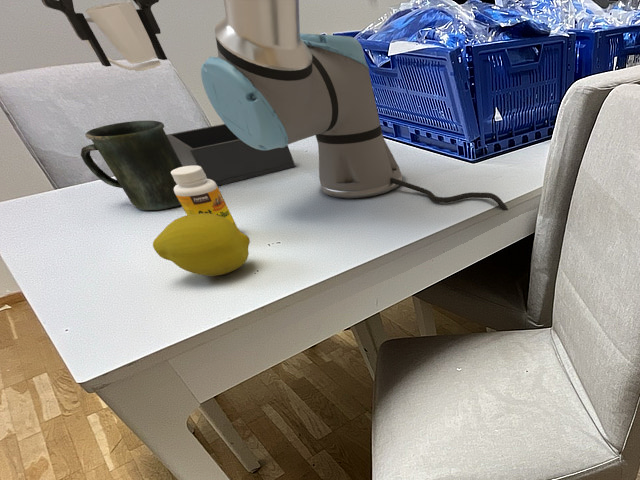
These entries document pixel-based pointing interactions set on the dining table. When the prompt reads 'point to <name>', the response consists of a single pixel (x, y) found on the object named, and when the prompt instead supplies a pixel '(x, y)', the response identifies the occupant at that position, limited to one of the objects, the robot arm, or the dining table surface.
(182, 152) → the bin
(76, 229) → the dining table surface
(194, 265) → the lemon
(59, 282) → the dining table surface
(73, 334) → the dining table surface
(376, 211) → the dining table surface
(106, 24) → the cup
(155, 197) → the mug
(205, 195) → the supplement bottle
